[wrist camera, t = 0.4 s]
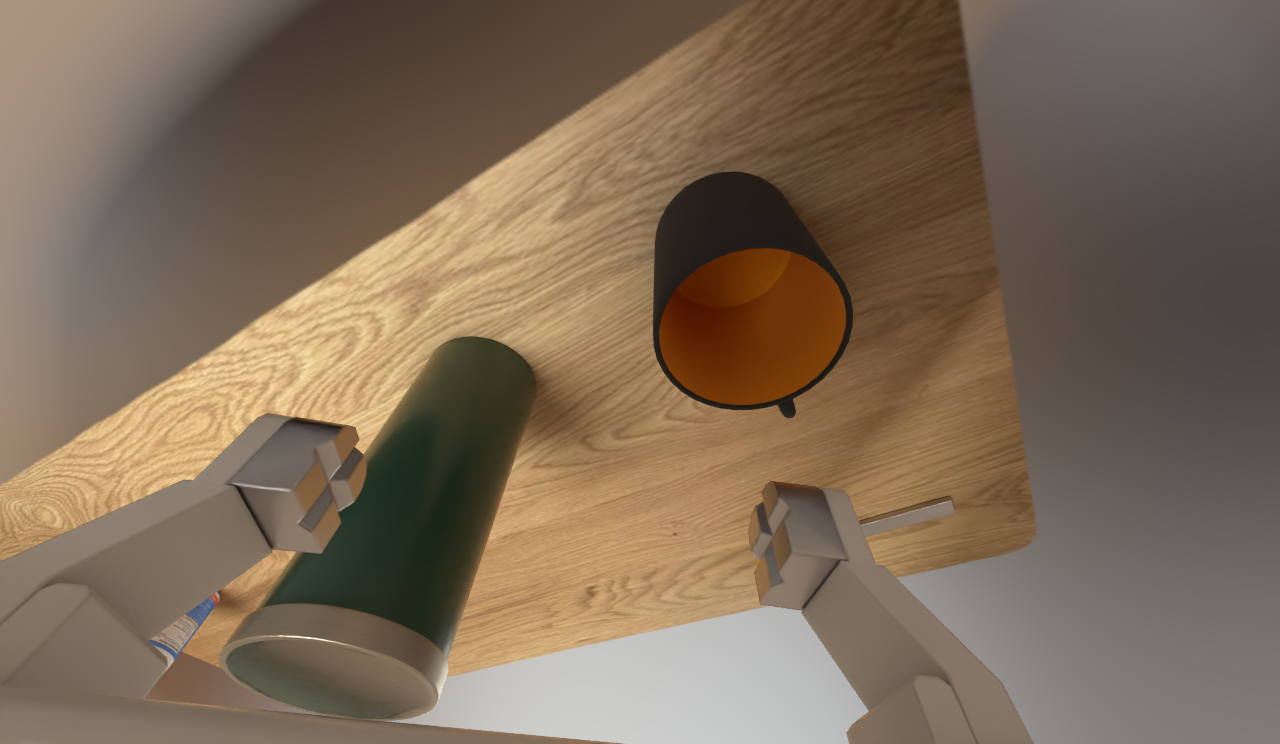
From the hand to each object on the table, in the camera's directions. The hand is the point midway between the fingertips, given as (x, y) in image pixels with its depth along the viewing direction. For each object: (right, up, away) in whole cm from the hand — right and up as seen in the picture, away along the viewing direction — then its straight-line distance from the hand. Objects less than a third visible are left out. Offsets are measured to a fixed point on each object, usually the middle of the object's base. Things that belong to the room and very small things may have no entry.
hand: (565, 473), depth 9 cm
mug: (+7, +8, +20) cm, 23 cm away
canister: (-10, +1, +26) cm, 28 cm away
